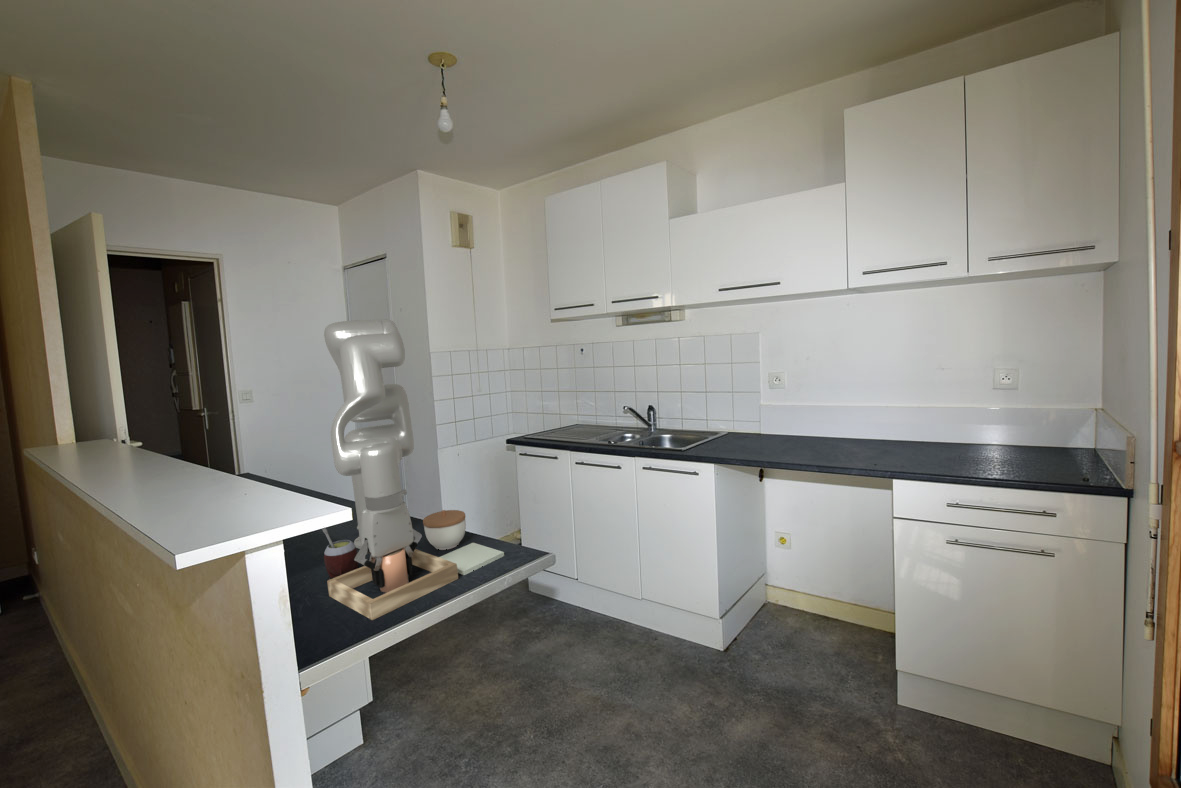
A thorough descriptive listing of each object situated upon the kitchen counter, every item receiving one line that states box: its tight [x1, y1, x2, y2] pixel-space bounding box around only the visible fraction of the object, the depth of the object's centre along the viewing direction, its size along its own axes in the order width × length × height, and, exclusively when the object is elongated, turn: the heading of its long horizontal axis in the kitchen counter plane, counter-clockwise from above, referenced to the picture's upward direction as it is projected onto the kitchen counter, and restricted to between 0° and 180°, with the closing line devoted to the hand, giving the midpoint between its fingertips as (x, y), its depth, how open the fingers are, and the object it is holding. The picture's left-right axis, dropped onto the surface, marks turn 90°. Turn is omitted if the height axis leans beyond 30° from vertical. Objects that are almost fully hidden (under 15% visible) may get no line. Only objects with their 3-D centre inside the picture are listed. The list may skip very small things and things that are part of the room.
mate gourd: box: [322, 527, 359, 580], centre depth 125 cm, size 8×8×15 cm
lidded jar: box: [422, 509, 467, 551], centre depth 140 cm, size 11×11×9 cm
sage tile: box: [438, 542, 505, 576], centre depth 130 cm, size 12×12×1 cm
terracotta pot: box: [379, 548, 410, 593], centre depth 118 cm, size 6×6×8 cm
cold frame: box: [326, 548, 459, 621], centre depth 118 cm, size 18×20×4 cm
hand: (393, 578), depth 118 cm, fingers closed on terracotta pot, 6 cm apart
